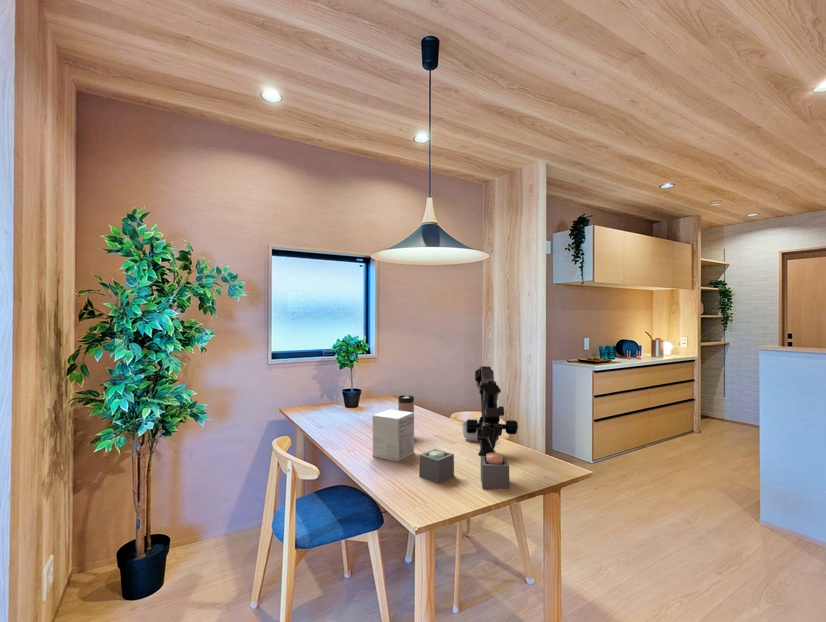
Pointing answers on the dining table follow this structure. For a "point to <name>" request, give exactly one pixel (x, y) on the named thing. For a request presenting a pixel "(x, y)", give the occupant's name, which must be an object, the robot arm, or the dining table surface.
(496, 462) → the terracotta button
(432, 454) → the green button
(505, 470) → the terracotta button housing
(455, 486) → the dining table surface
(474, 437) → the teacup
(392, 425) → the supplement box
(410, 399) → the travel mug
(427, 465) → the grey button housing
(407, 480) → the dining table surface
